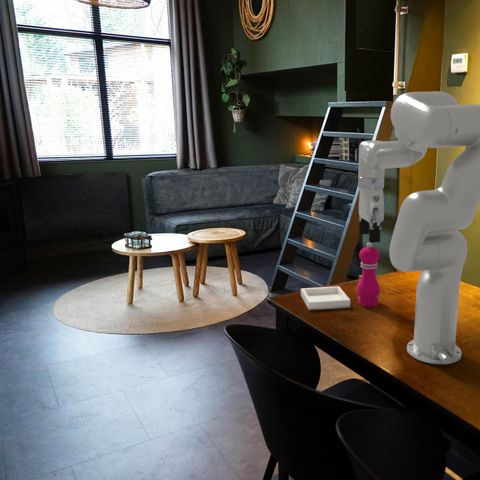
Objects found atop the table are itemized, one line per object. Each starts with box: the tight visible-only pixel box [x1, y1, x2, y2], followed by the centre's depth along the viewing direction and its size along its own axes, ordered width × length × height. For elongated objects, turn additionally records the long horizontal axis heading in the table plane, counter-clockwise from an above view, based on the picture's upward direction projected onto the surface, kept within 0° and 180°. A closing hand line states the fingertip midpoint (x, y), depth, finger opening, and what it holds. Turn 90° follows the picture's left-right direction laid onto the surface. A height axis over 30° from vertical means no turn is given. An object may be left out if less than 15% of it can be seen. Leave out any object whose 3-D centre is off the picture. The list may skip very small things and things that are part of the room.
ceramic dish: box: [300, 285, 351, 311], centre depth 158 cm, size 13×13×2 cm
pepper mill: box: [356, 241, 381, 308], centre depth 153 cm, size 7×7×20 cm
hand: (369, 238), depth 151 cm, fingers open, 9 cm apart
